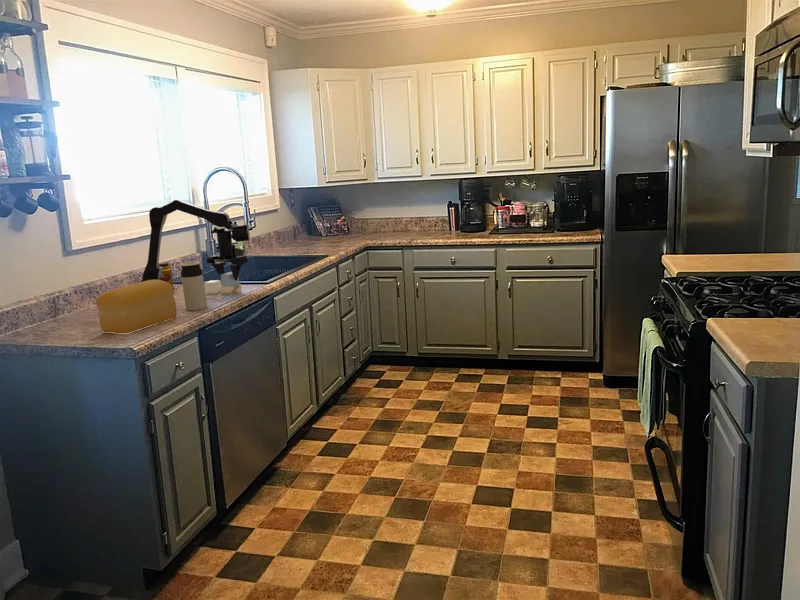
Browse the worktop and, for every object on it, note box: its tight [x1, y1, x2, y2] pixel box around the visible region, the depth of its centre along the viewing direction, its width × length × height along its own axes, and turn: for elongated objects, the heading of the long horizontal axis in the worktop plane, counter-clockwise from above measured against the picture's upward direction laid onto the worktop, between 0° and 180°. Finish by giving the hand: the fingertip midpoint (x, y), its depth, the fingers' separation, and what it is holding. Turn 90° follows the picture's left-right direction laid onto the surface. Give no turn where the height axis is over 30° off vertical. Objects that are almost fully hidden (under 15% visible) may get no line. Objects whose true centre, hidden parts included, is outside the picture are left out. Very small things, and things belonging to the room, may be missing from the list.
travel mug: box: [180, 261, 208, 311], centre depth 257 cm, size 8×8×18 cm
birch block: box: [220, 283, 243, 297], centre depth 282 cm, size 6×6×4 cm
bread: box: [95, 280, 178, 333], centre depth 238 cm, size 24×13×15 cm, turn 155°
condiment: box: [159, 262, 178, 290], centre depth 305 cm, size 7×8×12 cm
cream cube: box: [204, 279, 222, 294], centre depth 289 cm, size 5×5×5 cm
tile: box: [222, 294, 241, 299], centre depth 277 cm, size 6×4×1 cm, turn 147°
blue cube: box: [220, 271, 240, 287], centre depth 281 cm, size 5×5×5 cm
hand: (229, 279), depth 281 cm, fingers open, 7 cm apart
